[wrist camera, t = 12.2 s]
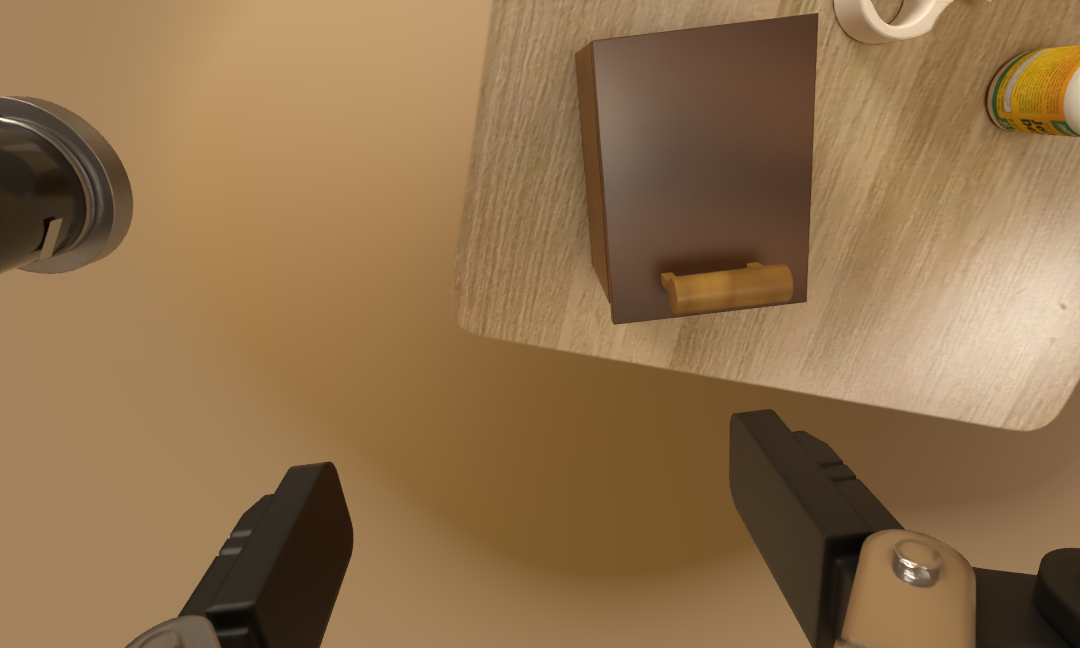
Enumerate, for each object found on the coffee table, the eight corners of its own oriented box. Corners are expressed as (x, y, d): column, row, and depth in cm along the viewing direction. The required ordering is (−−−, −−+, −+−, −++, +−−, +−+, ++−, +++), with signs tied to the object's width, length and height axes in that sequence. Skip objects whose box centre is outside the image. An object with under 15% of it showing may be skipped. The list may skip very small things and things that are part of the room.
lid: (800, 298, 36) (845, 327, 31) (611, 320, 36) (626, 352, 31) (811, 15, 30) (867, -5, 25) (590, 42, 30) (603, 27, 26)
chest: (745, 246, 44) (797, 281, 36) (592, 265, 44) (609, 303, 36) (748, 32, 39) (810, 15, 30) (574, 53, 39) (590, 42, 30)
